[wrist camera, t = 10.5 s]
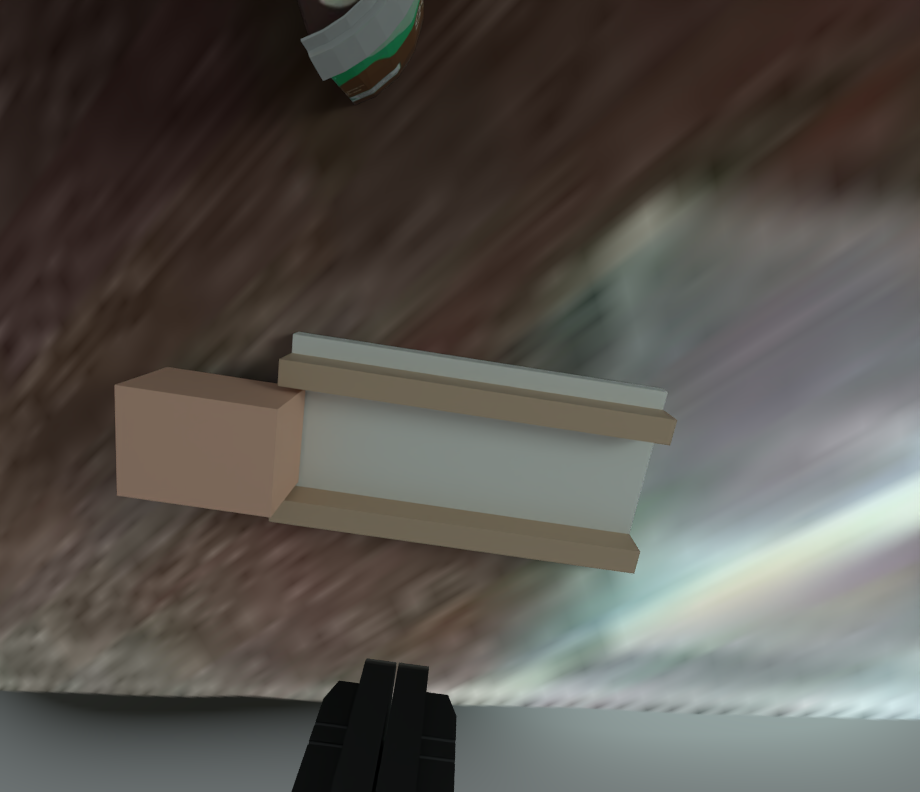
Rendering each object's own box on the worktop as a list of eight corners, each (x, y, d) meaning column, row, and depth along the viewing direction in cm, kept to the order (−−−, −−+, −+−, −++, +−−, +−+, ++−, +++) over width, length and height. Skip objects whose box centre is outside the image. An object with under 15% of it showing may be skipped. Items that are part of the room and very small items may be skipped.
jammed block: (305, 387, 29) (277, 409, 24) (298, 481, 30) (270, 517, 26) (167, 366, 29) (114, 384, 24) (167, 462, 30) (117, 495, 26)
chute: (661, 388, 30) (682, 401, 27) (615, 560, 33) (629, 589, 30) (298, 331, 29) (280, 338, 26) (285, 513, 32) (267, 537, 29)
